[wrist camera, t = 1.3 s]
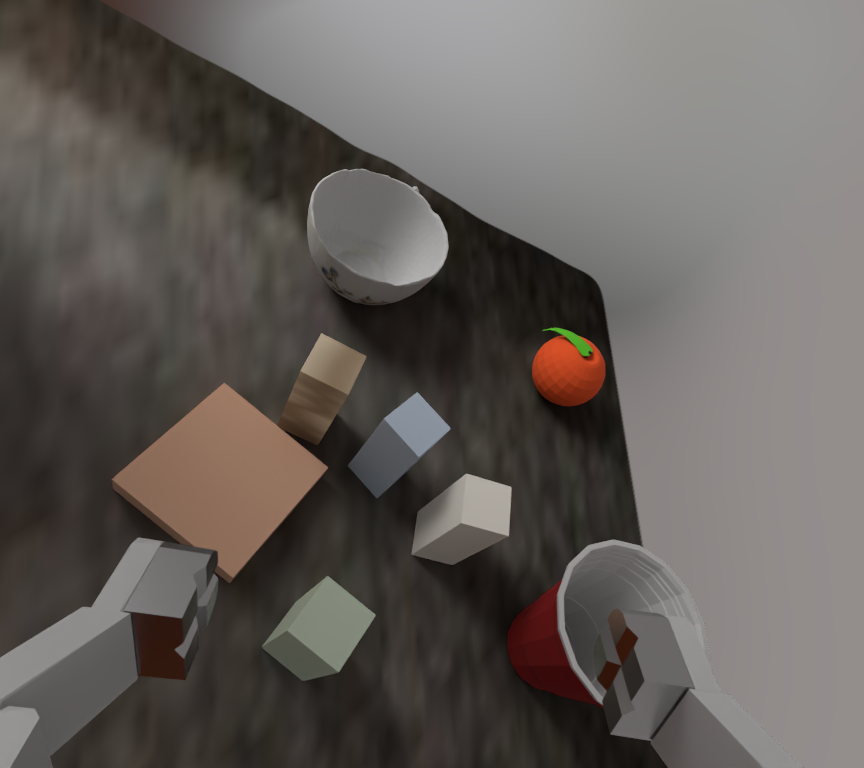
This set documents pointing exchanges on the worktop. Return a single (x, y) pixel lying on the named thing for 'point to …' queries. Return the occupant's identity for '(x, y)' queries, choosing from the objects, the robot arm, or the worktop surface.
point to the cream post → (462, 520)
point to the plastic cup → (592, 616)
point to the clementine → (568, 369)
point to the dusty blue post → (398, 444)
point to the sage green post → (319, 631)
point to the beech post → (321, 389)
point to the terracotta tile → (221, 479)
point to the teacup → (374, 237)
